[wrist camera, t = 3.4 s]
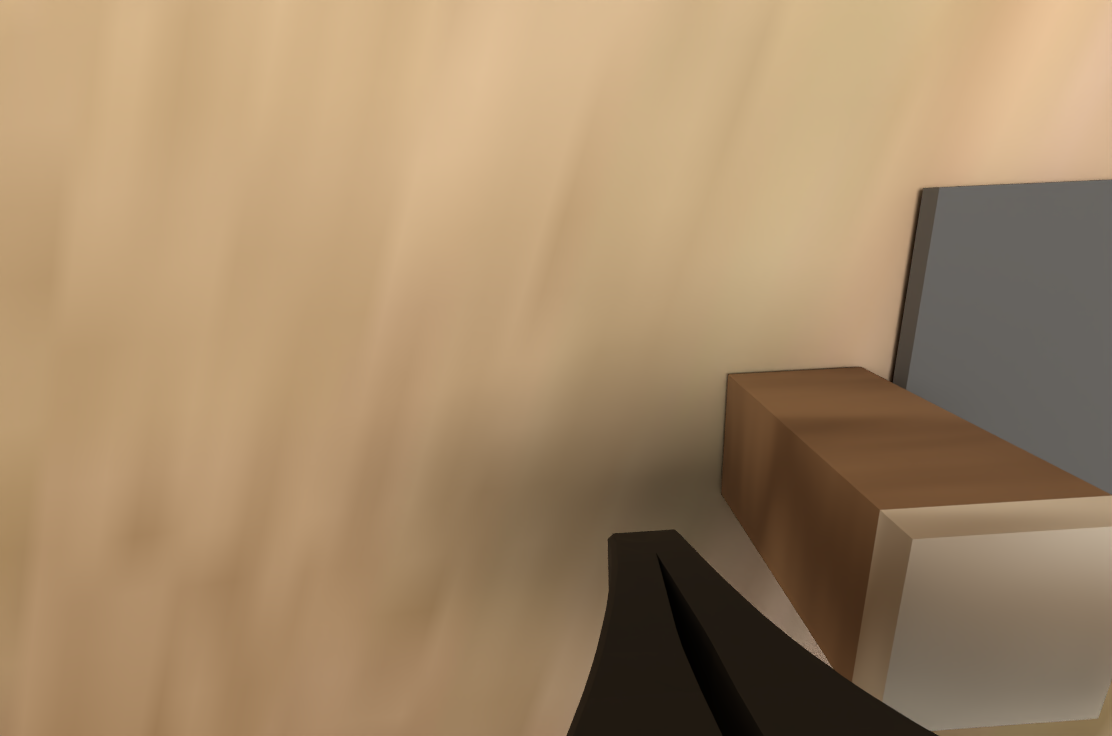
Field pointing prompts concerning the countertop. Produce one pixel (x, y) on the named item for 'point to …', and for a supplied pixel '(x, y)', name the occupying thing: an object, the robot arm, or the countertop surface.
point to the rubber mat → (1017, 317)
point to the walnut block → (924, 549)
